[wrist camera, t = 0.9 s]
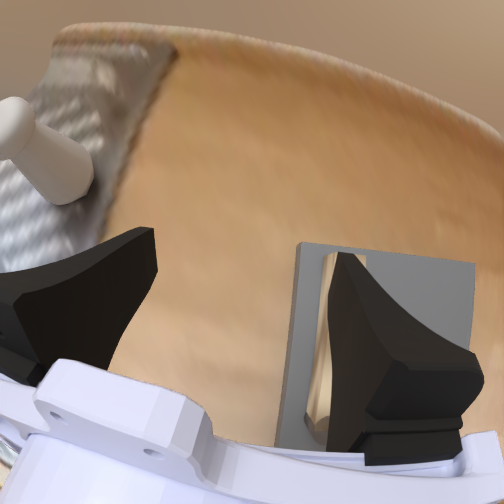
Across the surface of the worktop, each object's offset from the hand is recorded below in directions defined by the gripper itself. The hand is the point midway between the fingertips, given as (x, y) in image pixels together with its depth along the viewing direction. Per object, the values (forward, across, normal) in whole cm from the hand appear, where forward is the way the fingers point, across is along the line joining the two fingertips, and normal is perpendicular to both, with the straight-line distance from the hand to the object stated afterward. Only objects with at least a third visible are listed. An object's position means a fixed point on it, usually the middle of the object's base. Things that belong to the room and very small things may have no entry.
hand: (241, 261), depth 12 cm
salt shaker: (+14, +18, +3) cm, 23 cm away
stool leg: (+7, -6, +12) cm, 15 cm away
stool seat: (+9, -12, +14) cm, 21 cm away
